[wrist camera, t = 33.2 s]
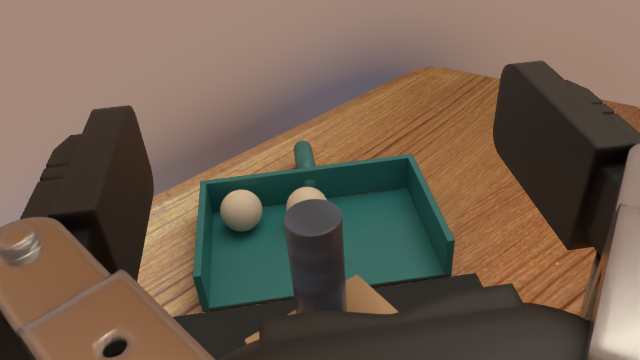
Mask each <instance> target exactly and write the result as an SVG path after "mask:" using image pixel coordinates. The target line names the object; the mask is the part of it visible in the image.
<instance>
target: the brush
mask: <svg viewBox="0 0 640 360" xmlns="http://www.w3.org/2000/svg"><path fill="white" fill-rule="evenodd" d="M284 227H285V235H286V242H287V249H288V257H289V264H290V271H291V278H292V286H293V293H294V300H295V308H296V310H295V311H293V312H291V313H289V314H288V315H291V314H298V313H305V312H313V311H320V310H328V311H343V312H359V313H374V314H393V313H397V312H398V311H397V310H396V309H395V308H394V307H393V306H392V305H390V304H389V303H388V302H387V301H386V300H385V299H384V298H383V297H382V296H381V295H379V294H378V293H377V292H376V291H375V290H374V289H373V288H372V287H371V286H369V285H368V284H367V283H366V282H365V281H364V280H363V279H362V278H361V277H360V276H358V275H355V276H353V277H351V278H350V279H348V280H346V276H345V258H344V240H343V222H342V213H341V211H340V209H339V208H338V207H337V206H336V205H335V204H334V203H332V202H329V201H327V200H322V199H309V200H304V201H301V202H298V203H296V204H294V205H293V206H291V207H290V208H289V209H288V210H287V212H286V213H285V216H284ZM258 339H259V331H258V332H257V333H255V334H253V335H252V336H250V337H248V338H246V339H245V345H246V344H248V343H251V342H253V341H256V340H258Z"/></svg>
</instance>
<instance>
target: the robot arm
mask: <svg viewBox="0 0 640 360" xmlns="http://www.w3.org/2000/svg"><path fill="white" fill-rule="evenodd" d="M602 102H603V101H601V100H600V99H599V98H598V97H597V96H595V95H594V94H593V93H592V92H591V91H590V90H588V89H586V88H584V87H582V86H580V85H577V84H575V83H573V82H571V81H568V80H564V79H563V78H562V77H561V76H560V75H559V74H558V73H556V72H555V71H554V70H553V69H551V67H549V66H548V65H547V64H546V63H545V62H543V61H533V62H524V63H515V64H508V65H506V66H505V67H504V69H503V71H502V74H501V79H500V86H499V92H498V99H497V106H496V112H495V119H494V126H493V138H494V144H495V148H496V150H497V153H498V154H499V156H500V157H501V159H502V160H503V161H504V163H505V164H506V165H507V167H508V168H509V170H510V171H511V172H512V174H513V175H514V176H515V178H516V179H517V181H518V182H519V183H520V185H521V186H522V188H523V189H524V190H525V192H526V193H527V194H528V196H529V197H530V199H531V200H532V201H533V203H534V204H535V205H536V207H537V208H538V210H539V211H540V212H541V214H542V215H543V217H544V218H545V219H546V221H547V222H548V223H549V225H550V226H551V228H552V229H553V230H554V232H555V233H556V234H557V236H558V237H559V239H560V240H561V241H562V243H563V244H564V246H565V247H566V248H567V250H573V249H580V248H588V247H594V248H595V249H596V251H597V252H596V255H595V258H594V261H593V264H592V268H591V272H590V276H589V280H588V284H587V288H586V292H585V296H584V300H583V304H582V308H581V312H580V316H578V315H575V314H572V313H569V312H566V311H564V310H561V309H557V308H553V307H549V306H545V305H539V304H533V303H523V302H522V300H521V298H520V297H519V295H518V293H517V291H516V290H515V288H514V286H513V284H505V285H497V286H490V287H483V288H476V289H469V290H462V291H455V292H450V293H447V294H445V295H442V296H439V297H437V298H434V299H431V300H429V301H426V302H424V303H421V304H418V305H416V306H413V307H410V308H408V309H405V310H402V311H400V312H397V313H393V314H374V313H359V312H343V311H328V310H320V311H313V312H305V313H298V314H291V315H284V316H277V317H270V318H263V319H258V322H259V339H258V340H256V341H253V342H251V343H248V344H246V345H244V346H242V347H240V348H238V349H236V350H234V351H233V352H231V353H230V354H228V355H226V356H225V357H223V358H222V359H220V360H640V133H639V132H638V131H637V130H635V129H634V128H633V127H632V126H631V125H630V124H628V123H627V122H626V121H625V120H624V119H623V118H621V117H620V116H619V115H618V114H614V111H613V110H612V109H611V108H610V107H608V106H607V105H606V104H603V103H602ZM153 189H154V187H153V176H152V170H151V166H150V163H149V159H148V156H147V153H146V149H145V146H144V142H143V139H142V135H141V132H140V128H139V125H138V122H137V118H136V115H135V112H134V110H133V109H132V107H131V106H129V105H128V106H119V107H110V108H101V109H94V110H92V112H91V114H90V116H89V119H88V121H87V123H86V126H85V128H84V130H83V133H82V134H78V135H70V136H69V137H68V138H67V139H66V140H65V141H63V142H62V143H61V144H60V145H59V146H58V147H57V148H55V149H54V150H53V152H52V154H51V156H50V159H49V160H48V162H47V165H46V169H44V171H43V173H42V175H41V177H40V182H38V183H37V185H36V187H35V189H34V191H33V193H32V195H31V197H30V199H29V202H28V204H27V206H26V208H25V210H24V212H23V214H22V216H21V218H20V220H17V221H15V222H11V223H9V224H7V225H5V226H2V227H0V360H215V359H214V358H213V357H212V356H211V355H210V354H209V353H208V352H207V351H206V350H205V349H204V348H203V347H202V346H201V345H200V344H199V343H198V342H197V341H196V340H195V339H194V338H193V337H192V336H191V335H190V334H189V333H188V332H187V331H186V330H185V329H184V328H183V327H182V326H181V325H180V324H179V323H178V322H177V321H176V320H175V319H174V318H173V317H172V316H171V315H170V314H168V313H167V312H166V311H165V310H164V309H163V308H162V307H161V306H160V305H159V304H158V303H157V302H156V301H155V300H154V299H153V298H152V297H151V296H150V295H149V294H148V293H147V292H146V291H145V290H144V289H143V288H142V287H141V286H140V285H139V284H138V283H137V279H138V273H139V268H140V263H141V257H142V252H143V247H144V242H145V236H146V231H147V226H148V221H149V215H150V210H151V205H152V199H153V192H154V191H153Z"/></svg>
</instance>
